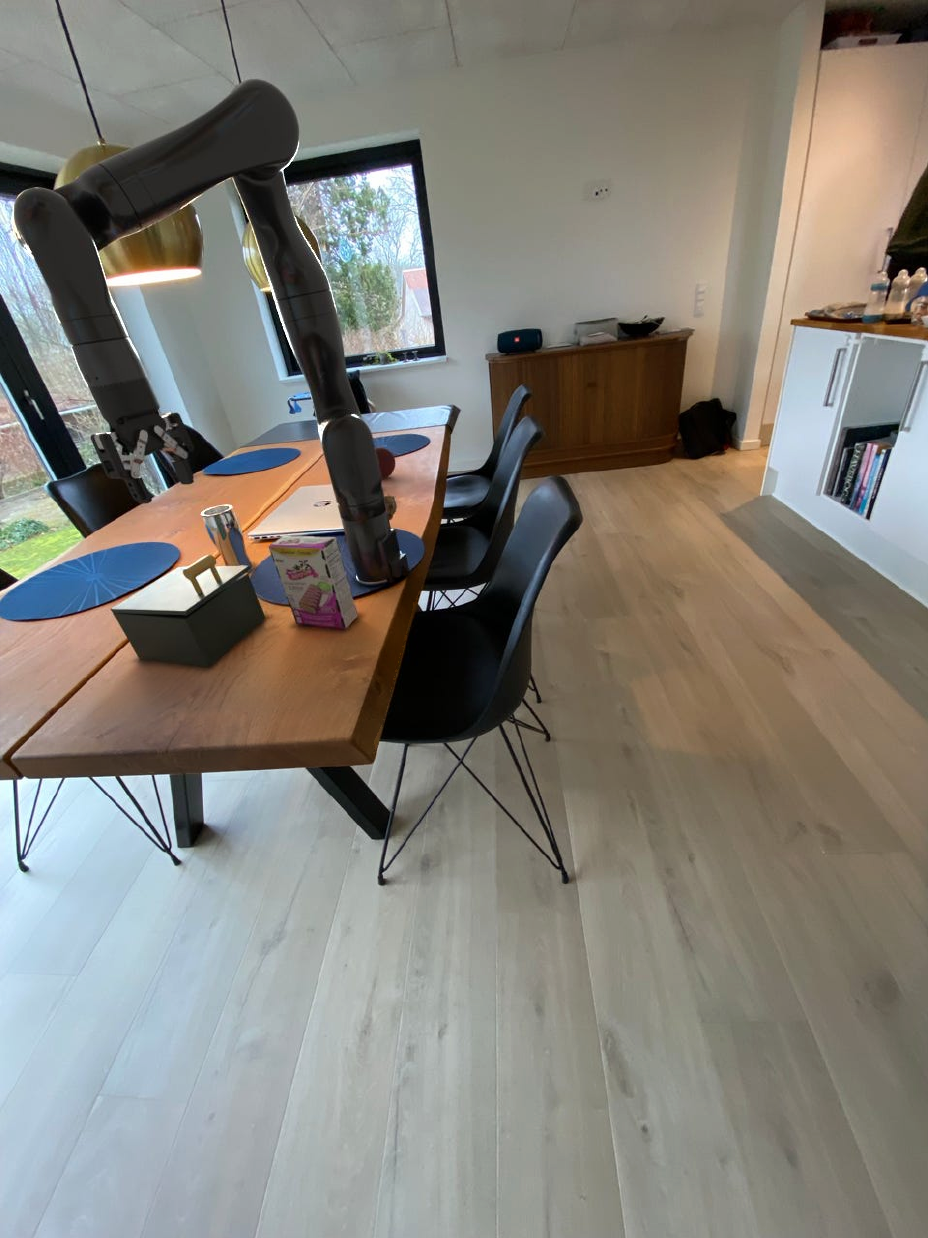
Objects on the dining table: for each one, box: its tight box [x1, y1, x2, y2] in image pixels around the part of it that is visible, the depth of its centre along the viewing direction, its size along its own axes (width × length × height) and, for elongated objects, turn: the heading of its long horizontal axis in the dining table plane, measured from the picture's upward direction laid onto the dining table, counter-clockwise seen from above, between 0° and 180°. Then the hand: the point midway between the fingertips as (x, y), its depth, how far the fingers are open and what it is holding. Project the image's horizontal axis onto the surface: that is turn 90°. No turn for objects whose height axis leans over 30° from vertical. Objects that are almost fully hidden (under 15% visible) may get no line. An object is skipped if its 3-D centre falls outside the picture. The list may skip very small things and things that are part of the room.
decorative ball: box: [375, 446, 396, 479], centre depth 170 cm, size 10×10×10 cm
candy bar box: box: [267, 534, 359, 630], centre depth 91 cm, size 11×5×16 cm, turn 71°
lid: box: [110, 554, 250, 615], centre depth 89 cm, size 17×16×6 cm
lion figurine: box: [344, 494, 398, 540], centre depth 127 cm, size 15×5×9 cm, turn 110°
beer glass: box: [200, 504, 255, 573], centre depth 117 cm, size 7×7×15 cm
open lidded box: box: [112, 572, 267, 669], centre depth 93 cm, size 16×16×10 cm
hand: (167, 492), depth 79 cm, fingers open, 8 cm apart
